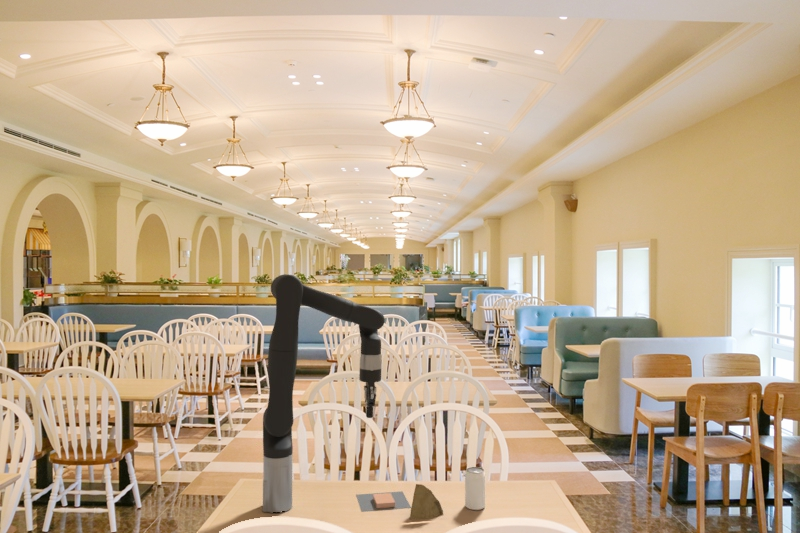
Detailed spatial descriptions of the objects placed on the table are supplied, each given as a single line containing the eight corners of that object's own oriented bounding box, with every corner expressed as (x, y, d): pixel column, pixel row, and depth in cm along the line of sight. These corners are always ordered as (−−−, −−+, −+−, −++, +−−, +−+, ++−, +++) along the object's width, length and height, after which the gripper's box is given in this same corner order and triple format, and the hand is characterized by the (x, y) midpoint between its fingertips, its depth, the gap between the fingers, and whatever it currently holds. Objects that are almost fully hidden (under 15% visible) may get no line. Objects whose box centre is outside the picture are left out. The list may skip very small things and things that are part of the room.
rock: (446, 503, 188) (416, 496, 190) (447, 488, 183) (416, 481, 185) (439, 535, 180) (408, 527, 182) (440, 520, 175) (407, 512, 177)
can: (469, 511, 187) (469, 474, 187) (462, 503, 193) (462, 467, 193) (488, 509, 189) (488, 472, 189) (480, 501, 195) (480, 465, 195)
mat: (361, 513, 185) (361, 511, 185) (356, 496, 199) (356, 494, 199) (411, 509, 189) (411, 507, 189) (402, 493, 202) (402, 491, 202)
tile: (372, 499, 195) (376, 508, 188) (372, 494, 195) (376, 503, 188) (390, 497, 197) (395, 507, 189) (390, 492, 197) (395, 502, 189)
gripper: (357, 364, 208) (356, 413, 208) (362, 370, 195) (360, 422, 195) (378, 363, 209) (377, 412, 209) (384, 370, 196) (383, 422, 196)
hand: (369, 417), depth 202 cm, fingers closed
